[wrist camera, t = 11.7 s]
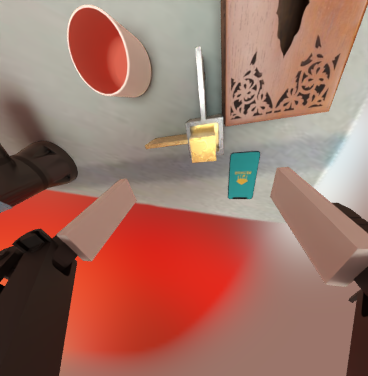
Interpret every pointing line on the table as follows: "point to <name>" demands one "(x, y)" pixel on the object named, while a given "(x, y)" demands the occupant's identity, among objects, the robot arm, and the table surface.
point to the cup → (107, 54)
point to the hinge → (196, 122)
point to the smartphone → (242, 174)
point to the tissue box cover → (284, 56)
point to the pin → (203, 144)
